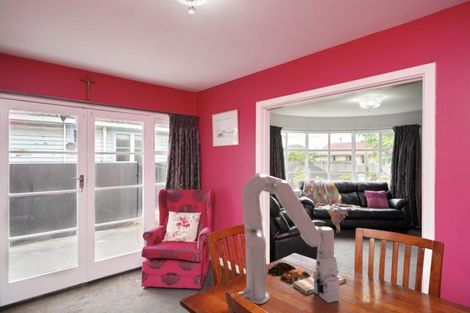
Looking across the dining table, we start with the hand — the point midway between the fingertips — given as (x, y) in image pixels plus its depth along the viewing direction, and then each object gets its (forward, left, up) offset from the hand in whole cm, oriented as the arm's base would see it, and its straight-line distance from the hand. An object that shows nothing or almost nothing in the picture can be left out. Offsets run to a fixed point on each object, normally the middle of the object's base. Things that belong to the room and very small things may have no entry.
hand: (326, 290), depth 124 cm
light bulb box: (0, 0, -3) cm, 3 cm away
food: (0, +30, -4) cm, 30 cm away
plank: (+7, +11, -3) cm, 14 cm away
